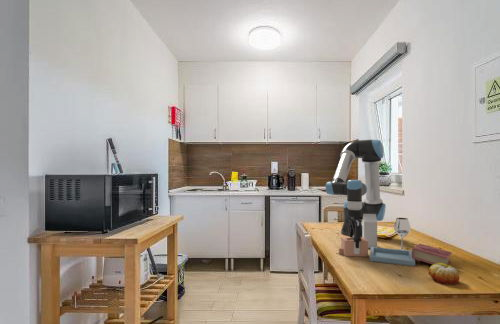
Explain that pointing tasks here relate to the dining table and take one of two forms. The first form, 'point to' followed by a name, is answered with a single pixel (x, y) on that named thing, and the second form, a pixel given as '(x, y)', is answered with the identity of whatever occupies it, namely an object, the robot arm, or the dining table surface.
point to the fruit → (444, 273)
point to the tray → (391, 256)
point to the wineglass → (402, 228)
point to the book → (430, 254)
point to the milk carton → (370, 229)
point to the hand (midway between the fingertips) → (354, 251)
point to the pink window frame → (348, 247)
